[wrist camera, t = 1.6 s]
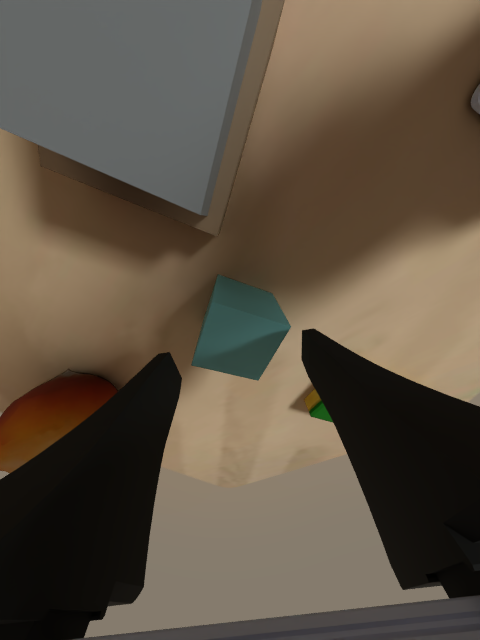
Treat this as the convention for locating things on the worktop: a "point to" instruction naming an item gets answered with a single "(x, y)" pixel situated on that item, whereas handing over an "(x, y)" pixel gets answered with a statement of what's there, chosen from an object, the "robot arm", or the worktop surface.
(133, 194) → the walnut slab
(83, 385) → the fruit
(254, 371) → the teal block
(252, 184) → the worktop surface
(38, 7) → the gray block
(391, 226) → the worktop surface
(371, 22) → the worktop surface
